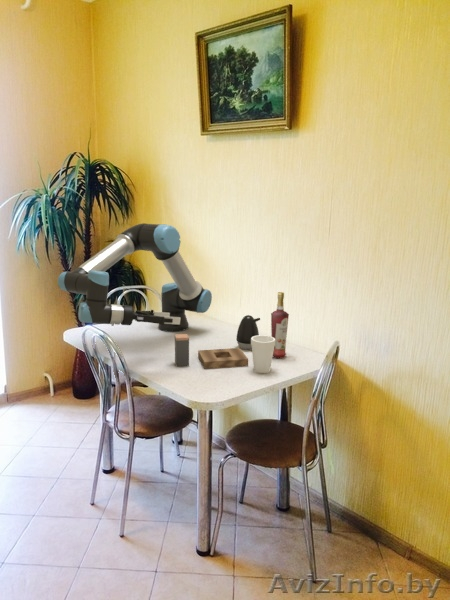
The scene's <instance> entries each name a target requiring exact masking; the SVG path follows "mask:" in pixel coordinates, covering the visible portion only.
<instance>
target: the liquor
mask: <svg viewBox="0 0 450 600" xmlns="http://www.w3.org/2000/svg"><path fill="white" fill-rule="evenodd" d="M284 298H285V292H284V291H283V292H282V291H281V292H280V291H279V292H277V304H276V309H275V310H274V311H273V312H271V313H270V321H271V322H270V323H271V324H270V325H271V326H270V327H271V330H270V331H271V337H273V338H275V346H274V351H273V357H272V358H275V359H283V358H285V356H287V352H286V348H287V334H288V328H289V327H288V326H289V315H290V314H289V313H288V312H287V311H285V310H284V309H285V308H284V307H285V306H284Z"/></svg>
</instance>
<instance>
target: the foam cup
mask: <svg viewBox="0 0 450 600" xmlns="http://www.w3.org/2000/svg"><path fill="white" fill-rule="evenodd" d="M251 345H252V349H251V353H252V362H253V364H252V365H253V371H254V372H255V373H258V374H267V373H270V371H271V368H272V361H273V358H274V357H273V351H274V346H275V338H273V337H271V336H270V335H265V334H263V335H262V334H261V335H260V334H259V335H258V336H253V337H252V338H251Z"/></svg>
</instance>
